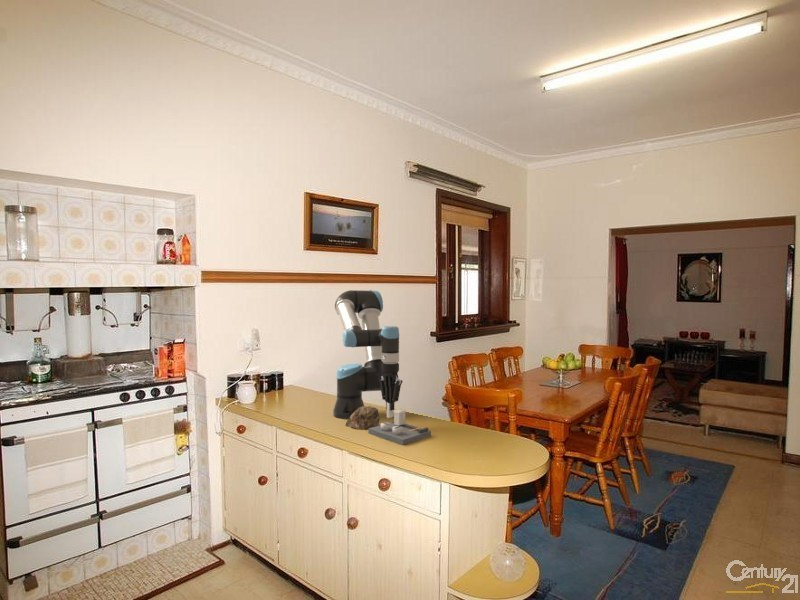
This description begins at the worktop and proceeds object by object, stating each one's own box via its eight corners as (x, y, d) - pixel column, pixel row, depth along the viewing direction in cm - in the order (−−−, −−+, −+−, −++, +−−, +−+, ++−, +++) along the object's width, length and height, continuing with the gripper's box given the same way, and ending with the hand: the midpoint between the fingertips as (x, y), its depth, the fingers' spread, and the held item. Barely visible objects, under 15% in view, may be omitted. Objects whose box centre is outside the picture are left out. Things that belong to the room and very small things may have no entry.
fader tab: (393, 424, 200) (393, 410, 200) (400, 422, 203) (400, 408, 203) (399, 425, 198) (399, 411, 197) (405, 423, 200) (406, 410, 200)
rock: (356, 423, 213) (341, 428, 205) (355, 403, 213) (340, 408, 205) (382, 426, 205) (367, 431, 197) (381, 406, 205) (366, 410, 197)
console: (368, 433, 195) (368, 422, 195) (397, 425, 206) (397, 415, 206) (402, 445, 180) (402, 433, 180) (431, 435, 192) (431, 424, 192)
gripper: (373, 361, 206) (373, 415, 206) (394, 365, 196) (394, 421, 197) (386, 359, 211) (386, 412, 212) (407, 363, 202) (407, 418, 202)
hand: (390, 417), depth 204 cm, fingers closed
